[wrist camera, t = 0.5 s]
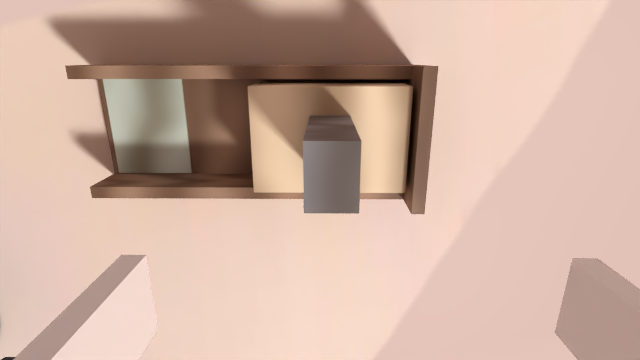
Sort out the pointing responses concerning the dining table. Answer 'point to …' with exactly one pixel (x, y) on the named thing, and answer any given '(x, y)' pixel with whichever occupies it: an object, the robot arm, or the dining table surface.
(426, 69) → the bay
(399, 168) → the block with handle
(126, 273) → the robot arm
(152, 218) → the dining table surface
